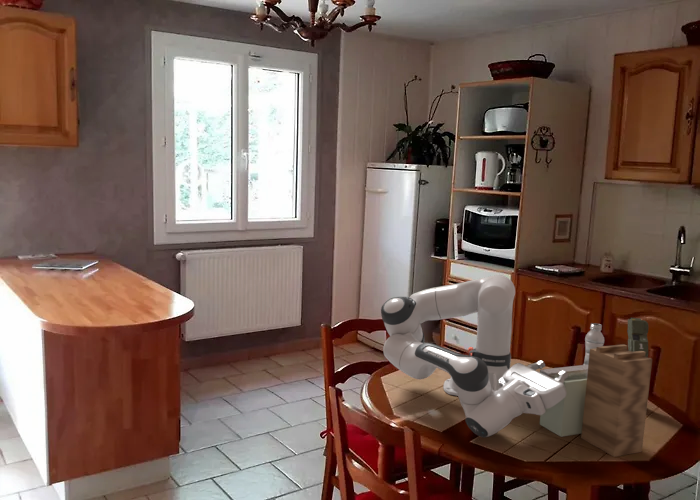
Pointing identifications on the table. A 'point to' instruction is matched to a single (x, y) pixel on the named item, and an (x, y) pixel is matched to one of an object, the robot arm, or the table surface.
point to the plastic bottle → (593, 340)
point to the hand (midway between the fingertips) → (554, 367)
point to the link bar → (572, 372)
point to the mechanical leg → (637, 335)
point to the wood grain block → (616, 399)
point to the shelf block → (567, 410)
